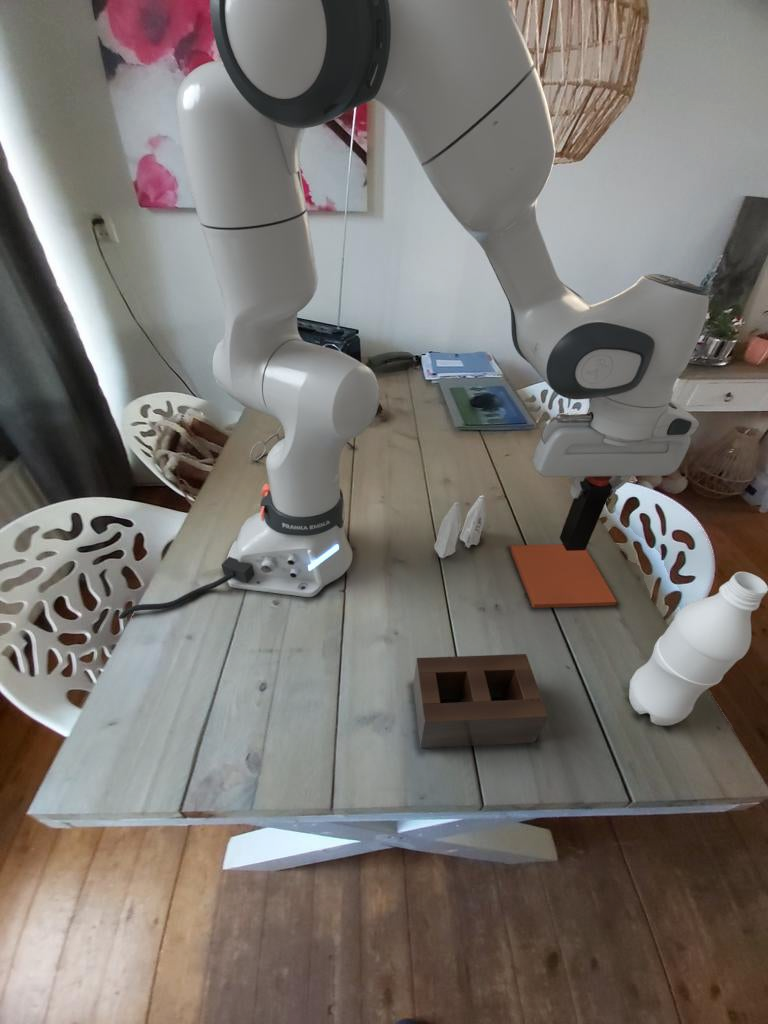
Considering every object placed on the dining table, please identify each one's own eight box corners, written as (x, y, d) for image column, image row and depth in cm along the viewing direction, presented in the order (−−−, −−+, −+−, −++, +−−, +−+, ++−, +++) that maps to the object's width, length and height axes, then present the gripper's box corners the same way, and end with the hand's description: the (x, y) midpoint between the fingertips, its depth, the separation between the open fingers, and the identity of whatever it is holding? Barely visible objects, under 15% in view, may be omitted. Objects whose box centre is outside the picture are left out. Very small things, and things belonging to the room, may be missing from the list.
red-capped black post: (566, 550, 72) (593, 481, 63) (559, 537, 75) (584, 469, 66) (585, 550, 72) (615, 481, 63) (577, 537, 75) (605, 468, 66)
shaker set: (440, 566, 80) (447, 519, 73) (425, 553, 82) (430, 506, 75) (486, 540, 85) (497, 495, 78) (471, 528, 88) (480, 483, 81)
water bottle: (656, 741, 56) (768, 621, 41) (611, 694, 61) (694, 570, 45) (692, 716, 59) (809, 594, 43) (645, 672, 64) (735, 549, 48)
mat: (533, 608, 73) (534, 604, 72) (509, 549, 84) (510, 545, 83) (615, 605, 73) (617, 601, 73) (581, 547, 84) (583, 543, 84)
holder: (534, 743, 56) (548, 716, 52) (420, 748, 55) (424, 722, 51) (515, 681, 62) (526, 653, 58) (413, 685, 62) (416, 657, 57)
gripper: (556, 425, 55) (530, 510, 64) (712, 423, 56) (666, 507, 65) (539, 403, 60) (518, 484, 69) (683, 401, 61) (644, 482, 70)
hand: (591, 495), depth 67 cm, fingers closed on red-capped black post, 3 cm apart
